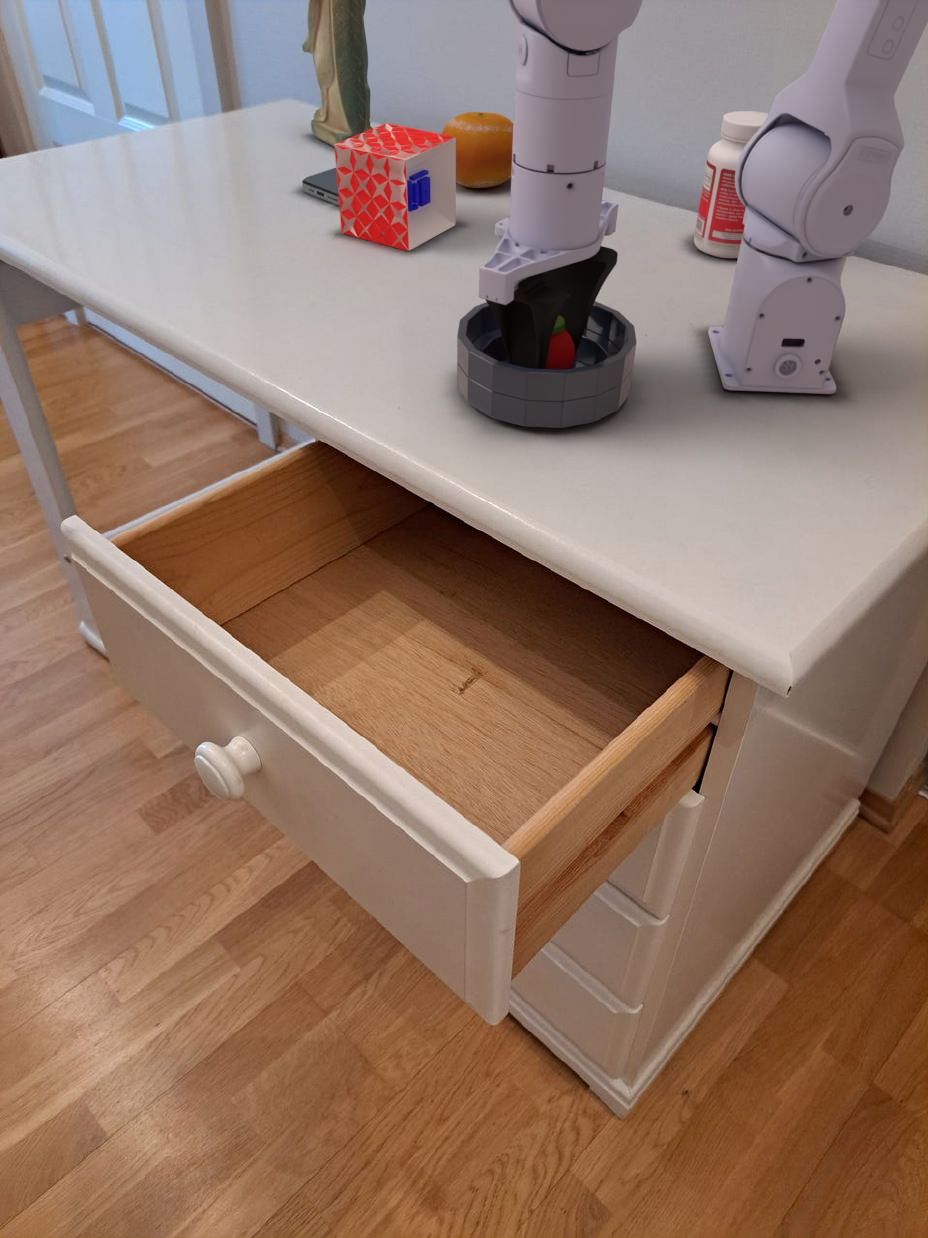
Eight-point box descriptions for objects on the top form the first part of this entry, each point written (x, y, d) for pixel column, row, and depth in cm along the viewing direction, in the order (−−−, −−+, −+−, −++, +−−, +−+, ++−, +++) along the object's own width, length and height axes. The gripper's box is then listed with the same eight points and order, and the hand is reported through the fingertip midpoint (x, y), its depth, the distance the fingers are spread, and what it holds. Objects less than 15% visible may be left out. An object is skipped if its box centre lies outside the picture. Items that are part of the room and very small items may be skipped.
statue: (346, 126, 114) (327, -134, 97) (387, 142, 110) (375, -128, 92) (299, 137, 111) (271, -131, 94) (340, 153, 106) (319, -125, 89)
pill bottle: (773, 251, 86) (804, 120, 78) (726, 265, 83) (753, 131, 76) (725, 230, 89) (750, 103, 82) (678, 243, 87) (699, 113, 79)
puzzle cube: (390, 208, 93) (386, 122, 88) (455, 224, 90) (455, 136, 85) (341, 233, 88) (333, 144, 83) (408, 251, 85) (405, 159, 80)
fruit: (530, 134, 100) (498, 71, 94) (535, 189, 96) (501, 127, 90) (461, 167, 104) (426, 109, 97) (463, 221, 100) (426, 165, 94)
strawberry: (572, 399, 65) (579, 335, 61) (510, 396, 65) (513, 333, 62) (571, 368, 68) (577, 307, 65) (511, 366, 68) (514, 305, 65)
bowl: (632, 437, 62) (642, 376, 59) (451, 430, 62) (451, 369, 59) (622, 352, 71) (629, 295, 68) (464, 346, 71) (464, 290, 68)
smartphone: (296, 178, 96) (403, 142, 104) (299, 195, 97) (404, 158, 105) (342, 196, 92) (450, 158, 100) (344, 213, 93) (451, 174, 101)
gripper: (560, 120, 62) (546, 313, 71) (436, 179, 53) (439, 390, 63) (656, 138, 59) (629, 337, 69) (542, 203, 50) (528, 421, 60)
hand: (544, 364), depth 65 cm, fingers closed on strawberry, 4 cm apart
